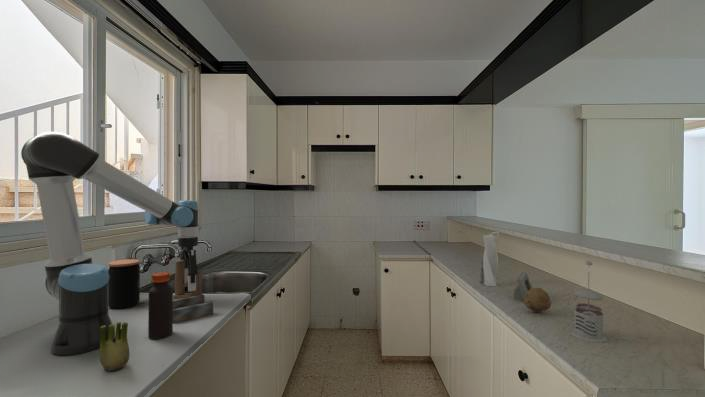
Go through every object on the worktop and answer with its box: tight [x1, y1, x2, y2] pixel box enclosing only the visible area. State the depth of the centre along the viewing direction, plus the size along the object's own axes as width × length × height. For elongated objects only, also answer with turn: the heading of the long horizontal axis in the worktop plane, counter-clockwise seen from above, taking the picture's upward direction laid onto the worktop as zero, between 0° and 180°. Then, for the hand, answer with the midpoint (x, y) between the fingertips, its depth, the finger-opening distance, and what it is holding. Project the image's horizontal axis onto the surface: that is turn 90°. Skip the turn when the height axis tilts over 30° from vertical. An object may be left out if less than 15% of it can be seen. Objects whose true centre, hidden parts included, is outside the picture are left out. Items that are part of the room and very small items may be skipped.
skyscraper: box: [479, 231, 500, 288], centre depth 168 cm, size 8×8×28 cm
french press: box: [564, 260, 608, 344], centre depth 108 cm, size 10×12×25 cm
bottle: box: [147, 271, 174, 340], centre depth 105 cm, size 7×7×20 cm
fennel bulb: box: [99, 321, 130, 372], centre depth 85 cm, size 6×5×12 cm
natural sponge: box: [523, 287, 552, 314], centre depth 128 cm, size 9×9×10 cm
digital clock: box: [513, 271, 533, 302], centre depth 147 cm, size 16×9×11 cm, turn 134°
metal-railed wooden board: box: [173, 294, 214, 324], centre depth 124 cm, size 14×13×4 cm
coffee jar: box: [107, 258, 141, 310], centre depth 133 cm, size 11×11×18 cm
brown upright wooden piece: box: [173, 259, 203, 300], centre depth 136 cm, size 4×11×18 cm, turn 93°
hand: (188, 287), depth 136 cm, fingers open, 12 cm apart
